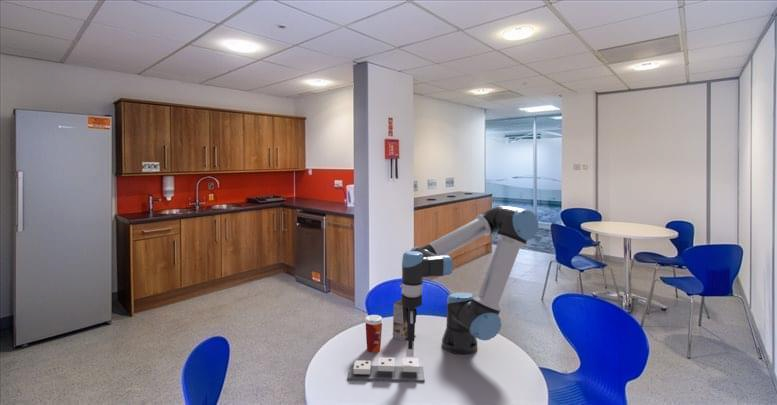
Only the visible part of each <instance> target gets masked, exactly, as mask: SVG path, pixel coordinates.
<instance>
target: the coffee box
mask: <svg viewBox="0 0 777 405" xmlns="http://www.w3.org/2000/svg"><path fill="white" fill-rule="evenodd" d="M406 308H407V307H405V306H403V305H402V304H401V299H400V300H397V301H395V302H393V309H392V310H393V311H392V312H393V315H392V316H393V317H392V318H393V320H392V321H393V322H392V338H395V339H399V340H401V341H406V340H405V338H407V322H406ZM415 333H416V332H415ZM415 333H414V335H415Z"/></svg>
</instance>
